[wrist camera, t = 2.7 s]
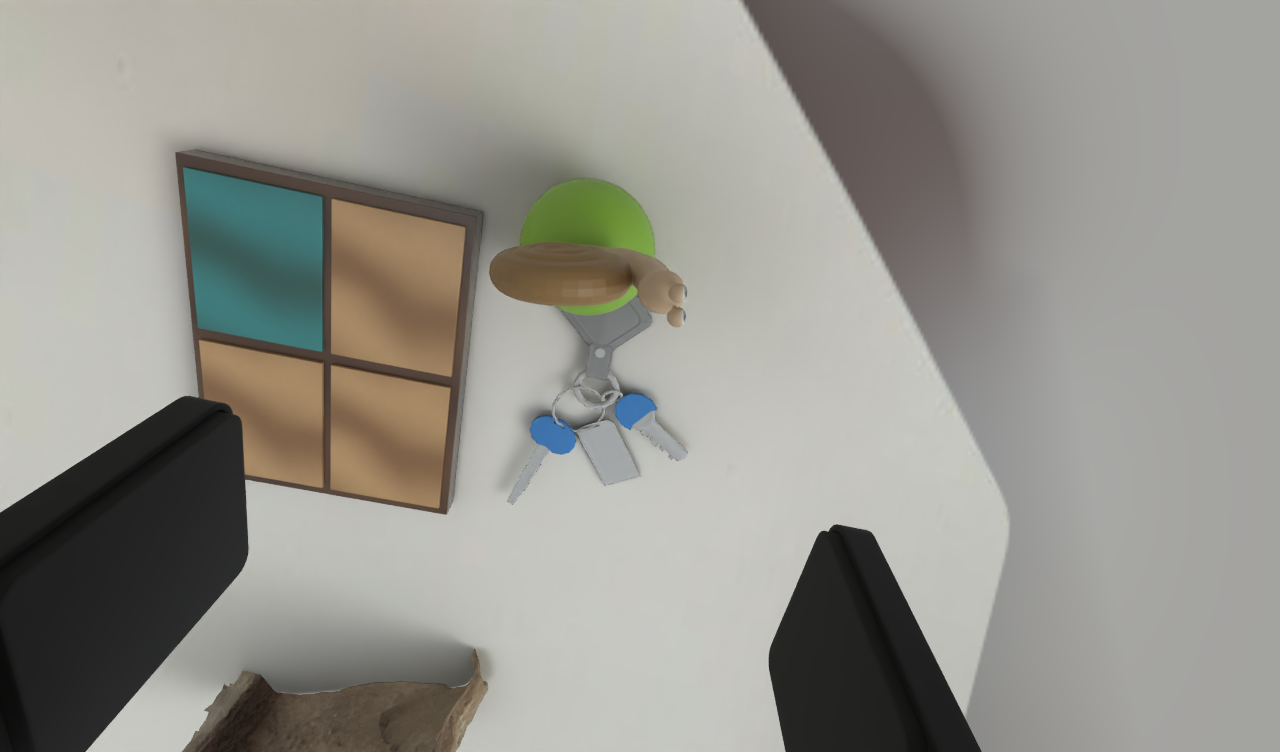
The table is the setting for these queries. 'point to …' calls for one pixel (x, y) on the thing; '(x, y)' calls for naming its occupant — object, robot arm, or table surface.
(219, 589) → the robot arm
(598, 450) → the key chain
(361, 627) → the table surface
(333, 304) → the game board
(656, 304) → the snail figurine
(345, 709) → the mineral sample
